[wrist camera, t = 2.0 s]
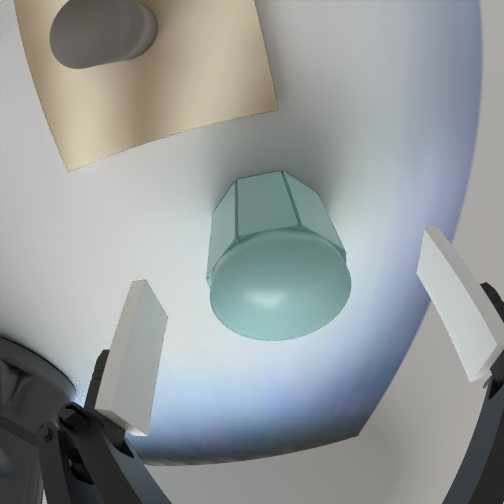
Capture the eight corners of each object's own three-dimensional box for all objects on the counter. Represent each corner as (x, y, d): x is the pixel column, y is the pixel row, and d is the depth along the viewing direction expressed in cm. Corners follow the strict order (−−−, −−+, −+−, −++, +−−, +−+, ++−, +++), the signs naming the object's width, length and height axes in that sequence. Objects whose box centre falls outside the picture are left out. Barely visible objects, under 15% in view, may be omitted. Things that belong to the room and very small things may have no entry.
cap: (230, 270, 20) (230, 348, 15) (203, 187, 16) (189, 258, 11) (323, 252, 19) (349, 326, 14) (314, 164, 15) (351, 226, 11)
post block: (77, 163, 14) (27, 214, 10) (26, -1, 8) (-41, 0, 3) (275, 105, 13) (295, 135, 9) (227, -86, 7) (223, -138, 2)
